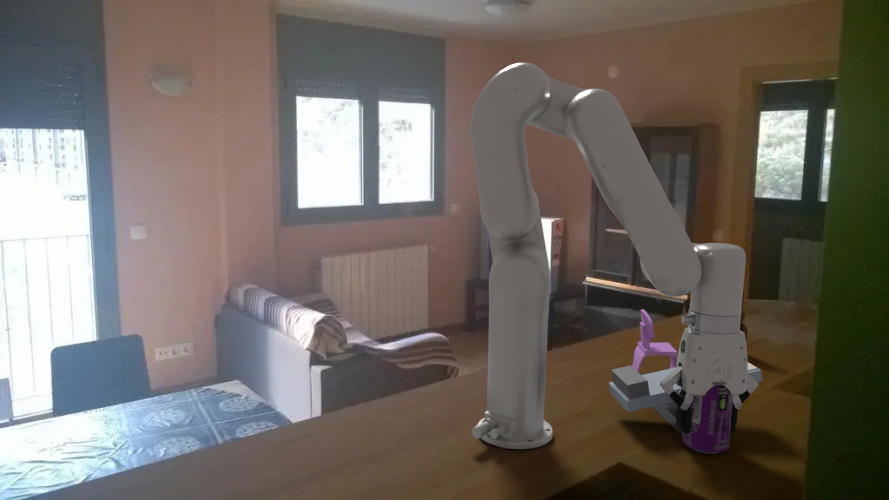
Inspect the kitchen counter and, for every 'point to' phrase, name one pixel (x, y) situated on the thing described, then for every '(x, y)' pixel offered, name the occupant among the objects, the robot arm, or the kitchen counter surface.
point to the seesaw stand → (668, 413)
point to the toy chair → (651, 344)
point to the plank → (656, 391)
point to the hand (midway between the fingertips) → (705, 429)
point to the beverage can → (710, 420)
